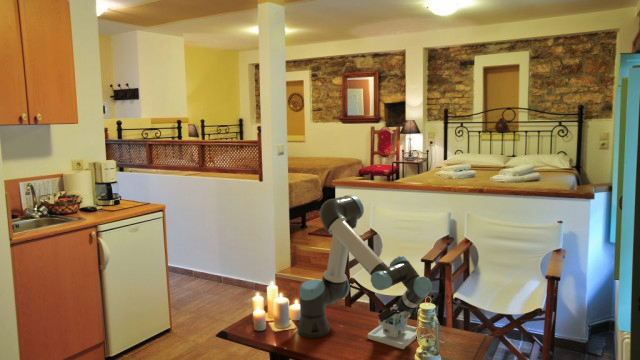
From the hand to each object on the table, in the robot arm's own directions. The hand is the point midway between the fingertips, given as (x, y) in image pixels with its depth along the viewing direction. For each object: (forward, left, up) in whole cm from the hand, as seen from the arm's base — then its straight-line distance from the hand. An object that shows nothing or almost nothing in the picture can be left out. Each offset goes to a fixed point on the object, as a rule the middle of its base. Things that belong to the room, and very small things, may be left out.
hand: (392, 320), depth 228 cm
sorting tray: (+2, -1, -6) cm, 7 cm away
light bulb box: (+2, -1, -5) cm, 5 cm away
